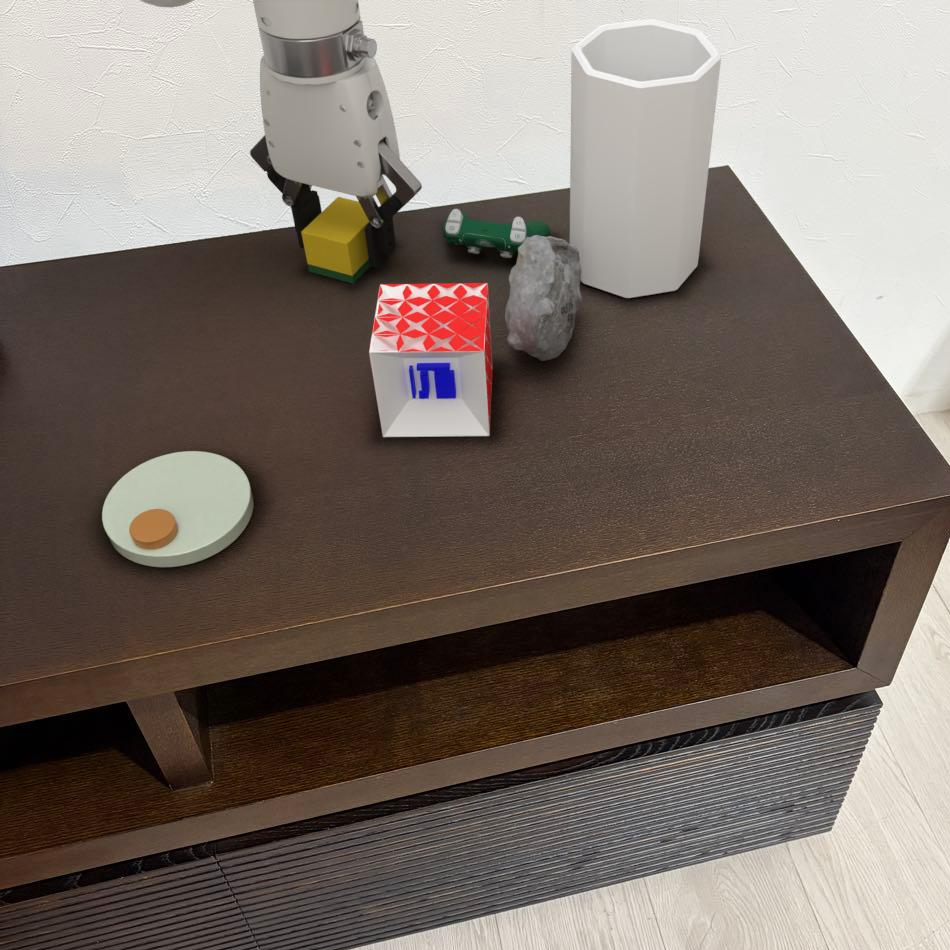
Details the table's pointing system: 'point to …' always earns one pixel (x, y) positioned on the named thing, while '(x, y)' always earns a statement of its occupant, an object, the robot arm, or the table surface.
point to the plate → (181, 506)
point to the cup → (640, 153)
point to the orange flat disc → (153, 529)
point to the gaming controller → (490, 233)
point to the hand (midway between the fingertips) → (347, 248)
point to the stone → (543, 296)
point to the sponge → (338, 241)
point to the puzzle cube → (432, 359)
